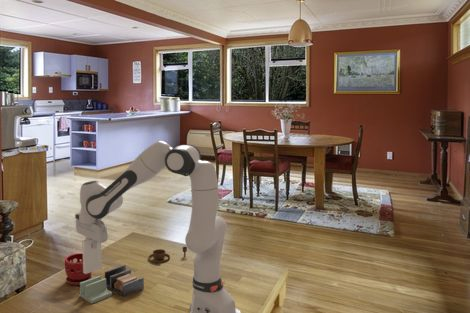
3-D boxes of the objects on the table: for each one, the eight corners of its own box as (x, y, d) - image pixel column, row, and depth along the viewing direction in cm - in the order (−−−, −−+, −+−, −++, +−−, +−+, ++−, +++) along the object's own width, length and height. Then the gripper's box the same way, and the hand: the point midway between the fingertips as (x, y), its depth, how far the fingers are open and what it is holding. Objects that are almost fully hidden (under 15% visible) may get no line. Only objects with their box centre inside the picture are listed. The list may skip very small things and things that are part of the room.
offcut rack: (143, 288, 186) (143, 273, 185) (123, 297, 178) (123, 281, 177) (124, 279, 196) (124, 264, 194) (105, 286, 187) (104, 271, 186)
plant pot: (78, 289, 184) (77, 265, 182) (59, 282, 190) (58, 259, 189) (100, 278, 195) (99, 255, 194) (81, 272, 202) (80, 250, 200)
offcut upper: (137, 281, 186) (136, 277, 185) (124, 286, 180) (124, 282, 180) (129, 277, 189) (129, 273, 189) (116, 282, 184) (116, 278, 184)
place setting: (155, 252, 231) (155, 243, 230) (188, 256, 227) (188, 246, 227) (142, 264, 214) (142, 254, 213) (177, 268, 210) (178, 258, 210)
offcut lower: (139, 285, 186) (139, 281, 186) (123, 291, 179) (123, 287, 179) (130, 280, 191) (130, 276, 190) (114, 287, 184) (114, 283, 184)
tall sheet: (101, 268, 181) (101, 236, 178) (85, 274, 174) (84, 241, 172) (99, 267, 182) (98, 235, 180) (83, 272, 176) (82, 240, 174)
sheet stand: (112, 295, 179) (111, 281, 178) (91, 303, 172) (91, 289, 171) (99, 288, 186) (99, 275, 185) (79, 296, 178) (79, 282, 177)
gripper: (111, 220, 171) (111, 251, 173) (85, 211, 183) (86, 239, 185) (97, 223, 166) (98, 255, 168) (72, 213, 179) (73, 243, 180)
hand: (92, 247), depth 177 cm, fingers closed on tall sheet, 2 cm apart
